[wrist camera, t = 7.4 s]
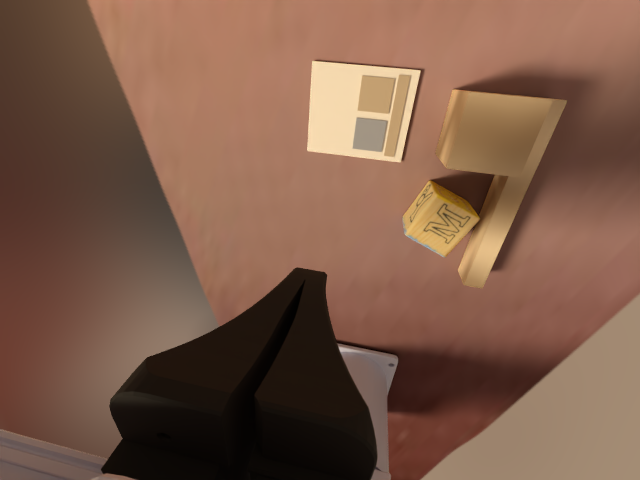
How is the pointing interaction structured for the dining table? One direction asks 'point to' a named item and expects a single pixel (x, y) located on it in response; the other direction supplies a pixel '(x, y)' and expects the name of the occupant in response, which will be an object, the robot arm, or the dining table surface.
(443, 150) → the maple cube
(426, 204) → the alphabet block
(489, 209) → the backstop
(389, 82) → the card
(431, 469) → the dining table surface
